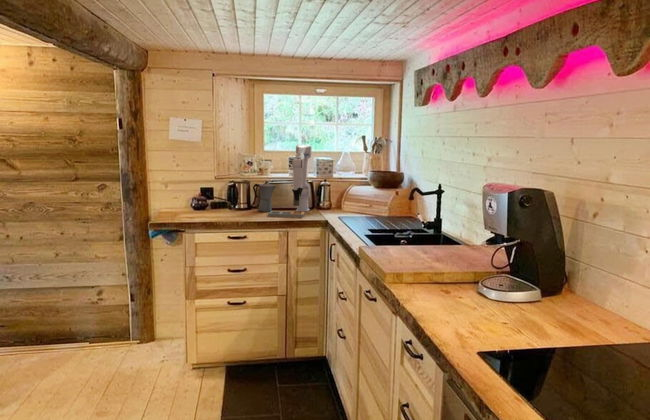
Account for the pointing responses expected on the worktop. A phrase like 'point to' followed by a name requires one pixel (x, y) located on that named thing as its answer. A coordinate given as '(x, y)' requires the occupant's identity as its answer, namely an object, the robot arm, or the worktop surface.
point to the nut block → (296, 203)
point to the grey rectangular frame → (286, 214)
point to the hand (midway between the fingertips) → (297, 200)
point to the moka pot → (265, 196)
